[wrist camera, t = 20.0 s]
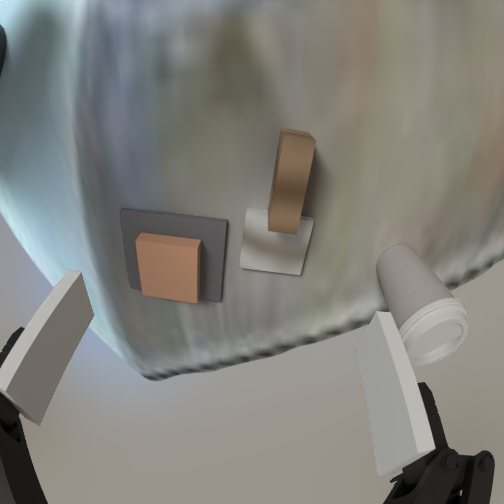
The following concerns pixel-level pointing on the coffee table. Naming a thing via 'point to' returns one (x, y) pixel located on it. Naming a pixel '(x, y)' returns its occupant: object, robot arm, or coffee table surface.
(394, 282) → the coffee cup
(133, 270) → the mat
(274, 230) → the tapered wooden block
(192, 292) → the tile
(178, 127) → the coffee table surface
